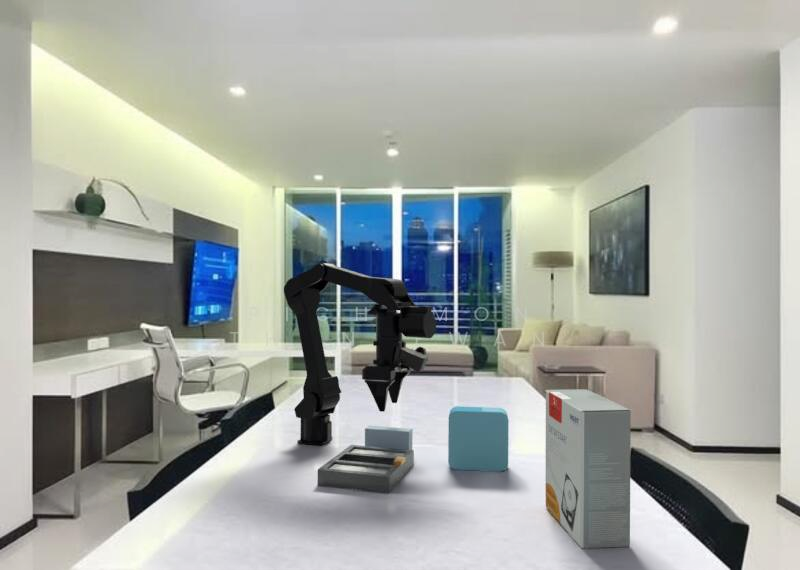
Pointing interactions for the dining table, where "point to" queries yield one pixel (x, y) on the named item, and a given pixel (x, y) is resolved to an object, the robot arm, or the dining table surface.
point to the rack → (366, 468)
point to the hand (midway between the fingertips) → (388, 407)
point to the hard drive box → (588, 467)
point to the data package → (478, 439)
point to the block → (388, 437)
